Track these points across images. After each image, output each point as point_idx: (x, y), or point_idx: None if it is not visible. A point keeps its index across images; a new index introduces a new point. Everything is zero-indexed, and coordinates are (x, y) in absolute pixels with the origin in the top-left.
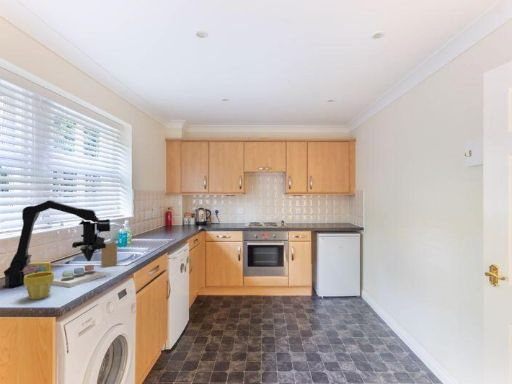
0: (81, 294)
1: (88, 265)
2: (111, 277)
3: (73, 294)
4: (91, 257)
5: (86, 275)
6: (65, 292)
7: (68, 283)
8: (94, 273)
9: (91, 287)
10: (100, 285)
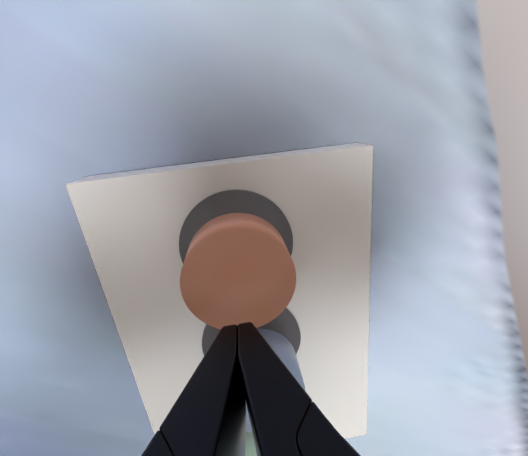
0: (512, 418)
1: (200, 275)
2: (457, 153)
3: (472, 434)
4: (279, 359)
5: (299, 302)
6: (408, 442)
7: (353, 434)
8: (308, 232)
9: (482, 351)
10: (511, 309)
